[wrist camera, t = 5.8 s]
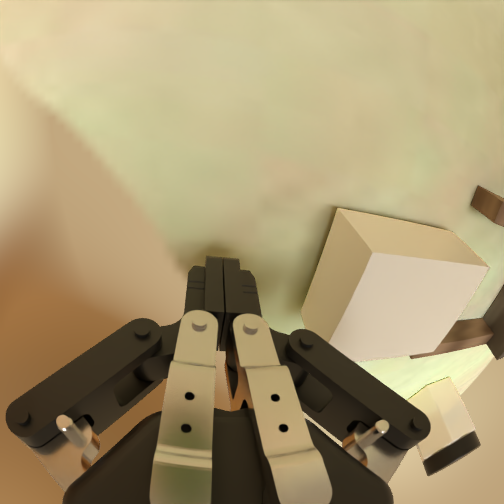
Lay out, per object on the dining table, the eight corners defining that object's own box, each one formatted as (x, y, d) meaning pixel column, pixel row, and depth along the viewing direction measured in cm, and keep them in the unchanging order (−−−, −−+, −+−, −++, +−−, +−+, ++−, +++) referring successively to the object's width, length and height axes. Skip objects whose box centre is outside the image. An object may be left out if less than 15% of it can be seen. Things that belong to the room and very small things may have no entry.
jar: (415, 411, 35) (439, 471, 25) (389, 411, 32) (414, 482, 22) (458, 377, 31) (489, 439, 21) (438, 374, 28) (474, 448, 18)
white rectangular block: (447, 227, 16) (489, 267, 12) (405, 307, 20) (433, 351, 16) (333, 203, 14) (372, 252, 10) (298, 305, 18) (316, 364, 14)
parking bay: (541, 220, 17) (572, 247, 13) (481, 327, 24) (502, 357, 20) (478, 185, 14) (529, 221, 10) (399, 337, 22) (423, 382, 18)
